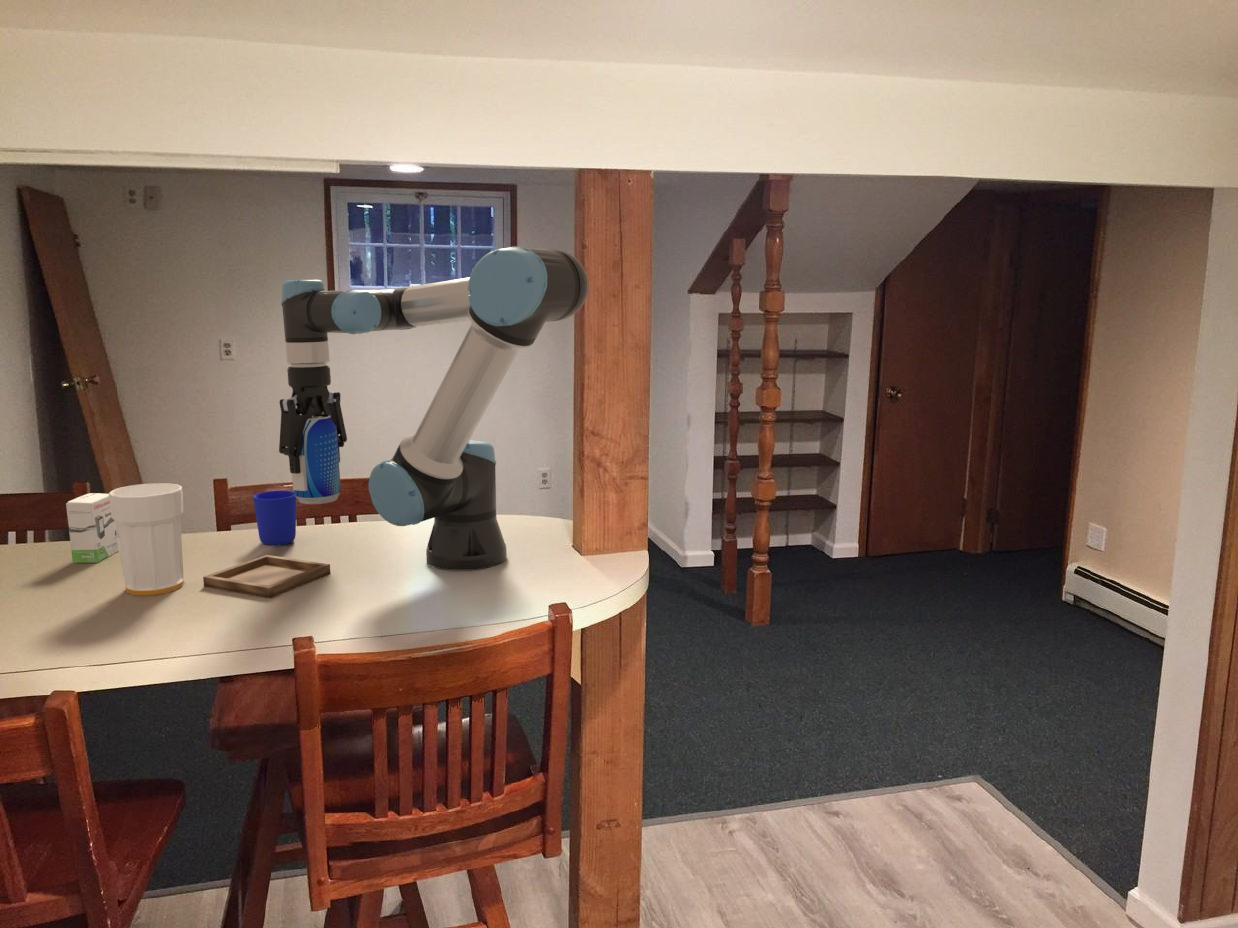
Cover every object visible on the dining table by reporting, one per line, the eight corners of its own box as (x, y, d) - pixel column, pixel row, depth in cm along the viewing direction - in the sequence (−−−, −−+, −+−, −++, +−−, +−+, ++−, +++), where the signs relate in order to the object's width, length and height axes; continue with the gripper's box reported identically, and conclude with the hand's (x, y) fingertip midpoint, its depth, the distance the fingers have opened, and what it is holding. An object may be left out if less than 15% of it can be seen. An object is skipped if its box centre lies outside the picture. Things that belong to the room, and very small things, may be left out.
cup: (107, 588, 169) (97, 490, 166) (171, 573, 177) (163, 480, 174) (137, 602, 162) (127, 500, 158) (202, 586, 170) (194, 488, 167)
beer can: (323, 506, 179) (316, 420, 176) (285, 503, 182) (278, 418, 179) (350, 497, 187) (344, 414, 184) (313, 494, 190) (307, 412, 187)
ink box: (97, 563, 184) (91, 502, 182) (71, 563, 184) (64, 502, 182) (120, 550, 192) (114, 492, 190) (95, 550, 192) (89, 492, 190)
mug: (313, 533, 205) (310, 486, 203) (288, 548, 193) (285, 499, 191) (276, 532, 206) (272, 485, 204) (249, 547, 194) (245, 498, 192)
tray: (330, 573, 177) (329, 564, 177) (269, 598, 164) (269, 588, 163) (267, 563, 183) (266, 554, 183) (203, 586, 170) (203, 576, 170)
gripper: (331, 360, 191) (339, 473, 195) (250, 369, 172) (260, 495, 176) (361, 360, 188) (369, 476, 192) (282, 370, 169) (292, 498, 173)
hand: (317, 485), depth 184 cm, fingers closed on beer can, 8 cm apart
